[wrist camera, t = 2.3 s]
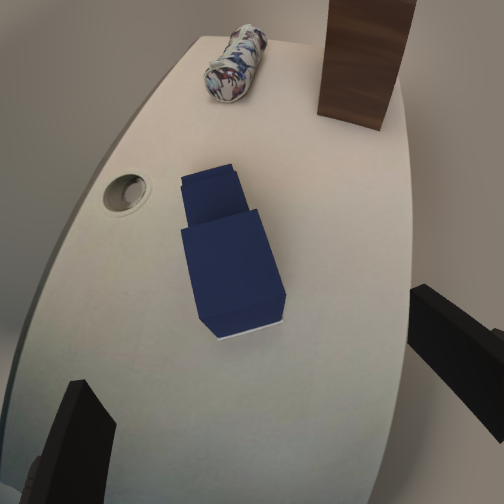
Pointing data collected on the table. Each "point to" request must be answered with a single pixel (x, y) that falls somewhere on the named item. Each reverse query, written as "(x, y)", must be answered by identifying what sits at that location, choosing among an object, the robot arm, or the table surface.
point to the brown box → (363, 58)
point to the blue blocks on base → (229, 256)
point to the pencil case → (236, 65)
